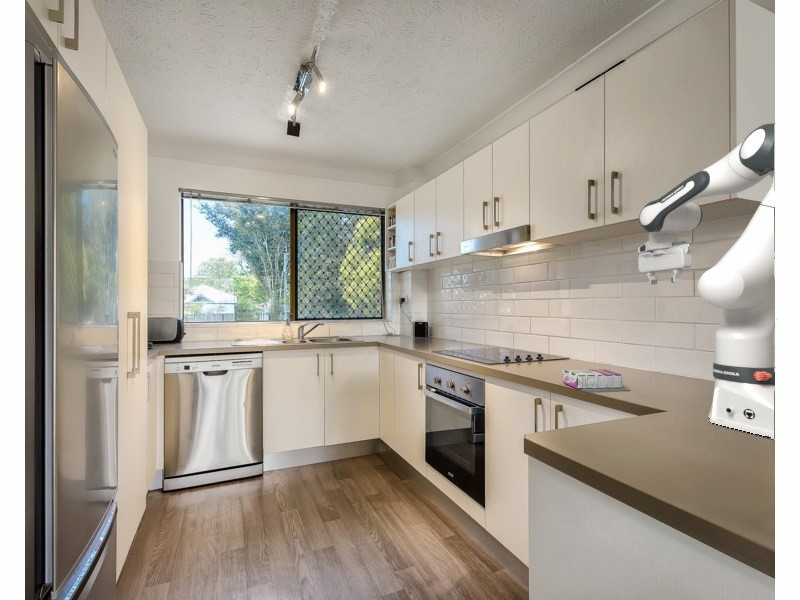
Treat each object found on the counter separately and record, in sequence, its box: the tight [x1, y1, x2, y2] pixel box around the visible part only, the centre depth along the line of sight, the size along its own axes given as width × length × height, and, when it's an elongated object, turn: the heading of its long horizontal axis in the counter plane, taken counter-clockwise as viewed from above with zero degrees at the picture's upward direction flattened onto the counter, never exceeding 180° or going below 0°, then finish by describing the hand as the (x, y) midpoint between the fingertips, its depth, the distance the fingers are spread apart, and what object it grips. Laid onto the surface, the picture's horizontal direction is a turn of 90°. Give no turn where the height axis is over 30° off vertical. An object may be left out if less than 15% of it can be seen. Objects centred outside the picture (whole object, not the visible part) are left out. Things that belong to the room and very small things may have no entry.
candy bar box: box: [562, 369, 623, 389], centre depth 143 cm, size 11×5×16 cm
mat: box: [565, 383, 631, 393], centre depth 141 cm, size 14×16×1 cm
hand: (663, 283), depth 140 cm, fingers open, 8 cm apart
